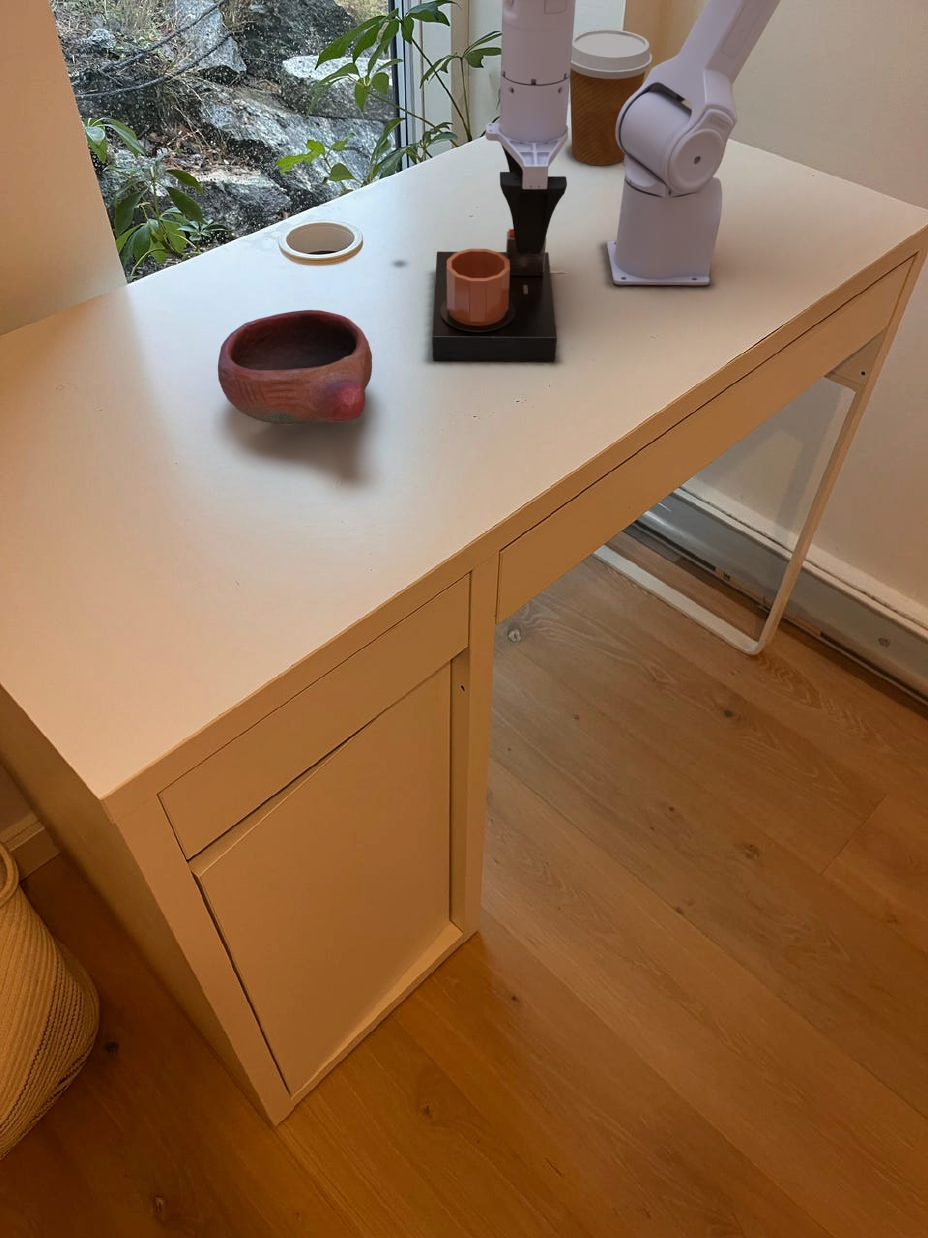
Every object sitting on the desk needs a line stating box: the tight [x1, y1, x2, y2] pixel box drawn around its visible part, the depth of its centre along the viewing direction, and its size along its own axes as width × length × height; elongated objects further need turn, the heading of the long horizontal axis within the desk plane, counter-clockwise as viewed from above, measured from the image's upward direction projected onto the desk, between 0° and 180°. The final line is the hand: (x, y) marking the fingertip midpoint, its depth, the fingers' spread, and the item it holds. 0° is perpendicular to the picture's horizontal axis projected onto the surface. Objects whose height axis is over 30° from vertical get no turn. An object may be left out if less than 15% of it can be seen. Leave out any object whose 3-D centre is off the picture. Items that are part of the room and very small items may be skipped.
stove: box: [431, 251, 566, 363], centre depth 92 cm, size 12×15×3 cm
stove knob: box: [505, 228, 547, 276], centre depth 91 cm, size 4×1×4 cm, turn 90°
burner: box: [440, 299, 515, 333], centre depth 88 cm, size 7×7×1 cm
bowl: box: [217, 309, 373, 425], centre depth 79 cm, size 16×13×8 cm
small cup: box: [447, 248, 510, 326], centre depth 87 cm, size 6×6×4 cm
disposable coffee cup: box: [569, 28, 653, 166], centre depth 111 cm, size 10×10×12 cm
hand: (527, 230), depth 90 cm, fingers open, 7 cm apart
